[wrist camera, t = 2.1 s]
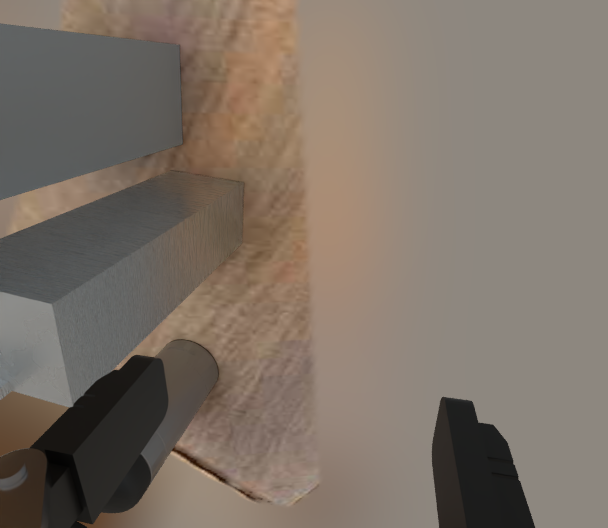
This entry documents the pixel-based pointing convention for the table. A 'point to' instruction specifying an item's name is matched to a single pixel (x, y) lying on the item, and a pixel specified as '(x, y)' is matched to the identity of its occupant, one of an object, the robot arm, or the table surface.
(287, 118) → the table surface
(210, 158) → the table surface
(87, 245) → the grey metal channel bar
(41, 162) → the stand
